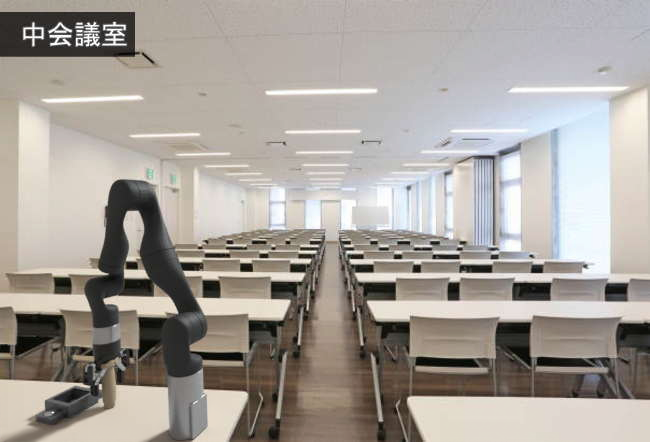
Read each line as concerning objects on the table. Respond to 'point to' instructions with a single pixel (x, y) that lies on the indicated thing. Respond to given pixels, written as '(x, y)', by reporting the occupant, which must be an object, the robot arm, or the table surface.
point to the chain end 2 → (83, 399)
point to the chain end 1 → (57, 408)
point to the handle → (109, 384)
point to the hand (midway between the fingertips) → (108, 388)
